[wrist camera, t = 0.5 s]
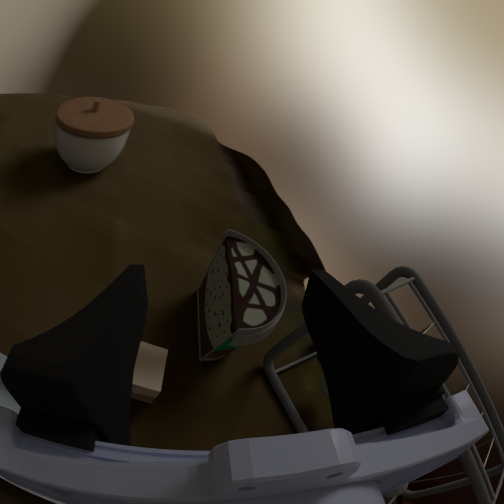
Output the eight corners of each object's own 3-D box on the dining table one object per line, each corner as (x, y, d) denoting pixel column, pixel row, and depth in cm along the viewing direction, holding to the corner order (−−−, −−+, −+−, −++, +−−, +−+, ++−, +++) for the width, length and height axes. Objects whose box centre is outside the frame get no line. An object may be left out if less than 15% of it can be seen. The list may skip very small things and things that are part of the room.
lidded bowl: (37, 171, 35) (42, 106, 28) (71, 135, 43) (82, 81, 36) (106, 193, 39) (121, 127, 32) (130, 153, 48) (147, 98, 41)
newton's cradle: (405, 497, 26) (517, 462, 15) (364, 544, 19) (496, 527, 8) (313, 336, 40) (407, 256, 28) (255, 359, 33) (360, 268, 22)
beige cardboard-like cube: (151, 403, 24) (160, 391, 21) (101, 388, 23) (101, 373, 20) (157, 367, 27) (168, 349, 24) (110, 352, 26) (113, 331, 22)
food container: (252, 377, 31) (304, 340, 25) (200, 374, 29) (240, 335, 22) (240, 289, 39) (279, 239, 33) (196, 280, 37) (227, 225, 30)
